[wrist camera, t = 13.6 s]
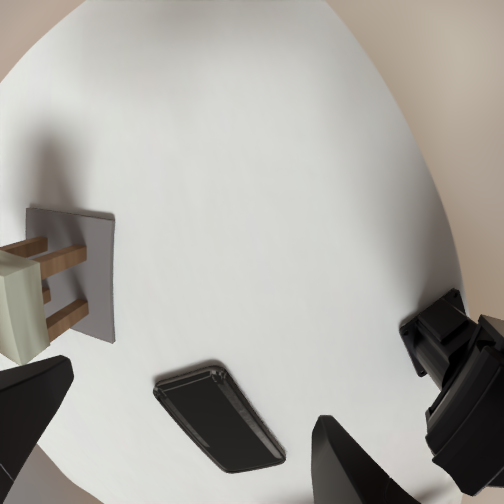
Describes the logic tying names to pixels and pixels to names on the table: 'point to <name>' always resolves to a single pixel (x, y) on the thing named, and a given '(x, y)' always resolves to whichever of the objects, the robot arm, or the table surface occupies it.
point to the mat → (79, 267)
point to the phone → (219, 420)
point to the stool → (34, 297)
